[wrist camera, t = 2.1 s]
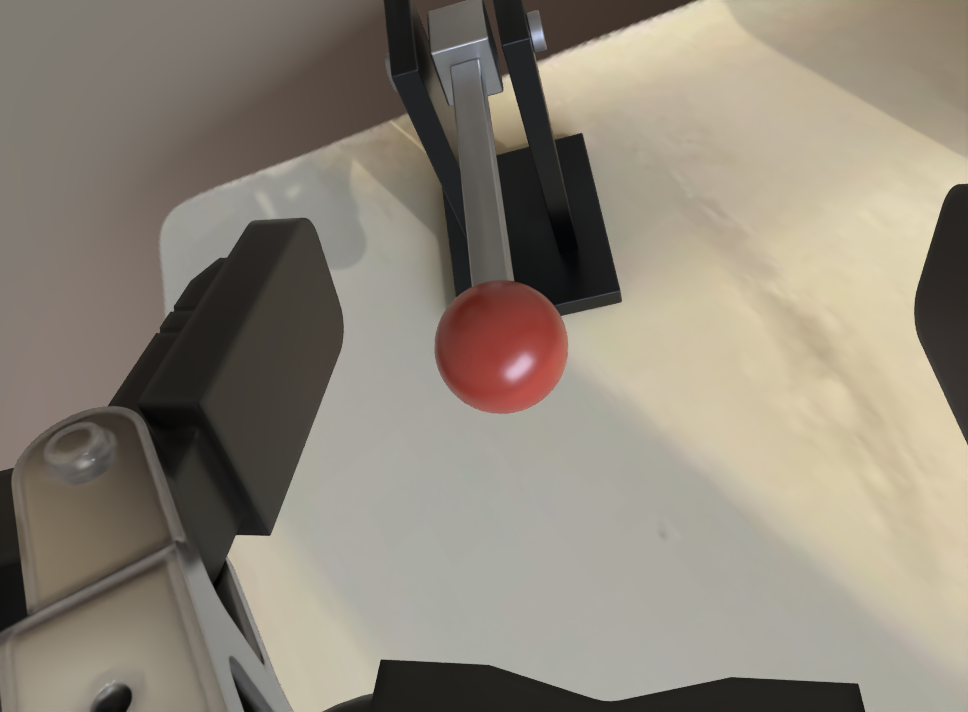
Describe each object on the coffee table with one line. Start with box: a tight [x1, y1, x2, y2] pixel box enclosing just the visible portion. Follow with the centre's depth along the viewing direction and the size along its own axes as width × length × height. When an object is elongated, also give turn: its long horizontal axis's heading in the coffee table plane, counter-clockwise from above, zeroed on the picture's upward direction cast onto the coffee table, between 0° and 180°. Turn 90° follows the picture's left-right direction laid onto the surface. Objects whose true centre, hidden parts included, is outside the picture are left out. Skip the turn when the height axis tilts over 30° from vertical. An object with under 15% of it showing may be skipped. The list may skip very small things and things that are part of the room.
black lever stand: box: [384, 0, 622, 316], centre depth 34 cm, size 10×8×15 cm
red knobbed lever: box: [427, 0, 568, 414], centre depth 25 cm, size 17×4×4 cm, turn 8°
